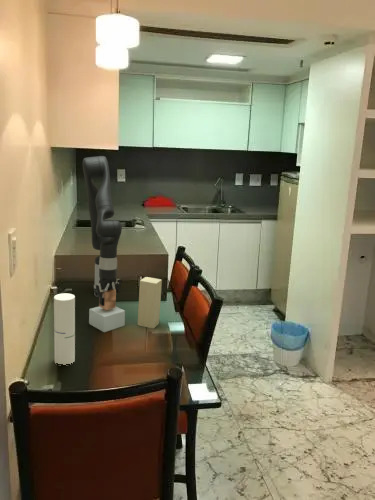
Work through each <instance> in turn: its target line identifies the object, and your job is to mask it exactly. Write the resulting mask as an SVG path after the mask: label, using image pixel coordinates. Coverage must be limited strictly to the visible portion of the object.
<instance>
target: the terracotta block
mask: <svg viewBox="0 0 375 500" xmlns="http://www.w3.org/2000/svg"><path fill="white" fill-rule="evenodd" d="M103 290H104V289H103ZM102 293H103V292H102ZM116 296H117V293H116V290H112V289H109V290H107V292H105V296H104V306H101V305H100V303H99V302H98V307H101V308H103V309H105V310H108V309H112V308H115V306H116V307H117V305H116V303H117V302H116V300H117V297H116Z"/></svg>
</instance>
